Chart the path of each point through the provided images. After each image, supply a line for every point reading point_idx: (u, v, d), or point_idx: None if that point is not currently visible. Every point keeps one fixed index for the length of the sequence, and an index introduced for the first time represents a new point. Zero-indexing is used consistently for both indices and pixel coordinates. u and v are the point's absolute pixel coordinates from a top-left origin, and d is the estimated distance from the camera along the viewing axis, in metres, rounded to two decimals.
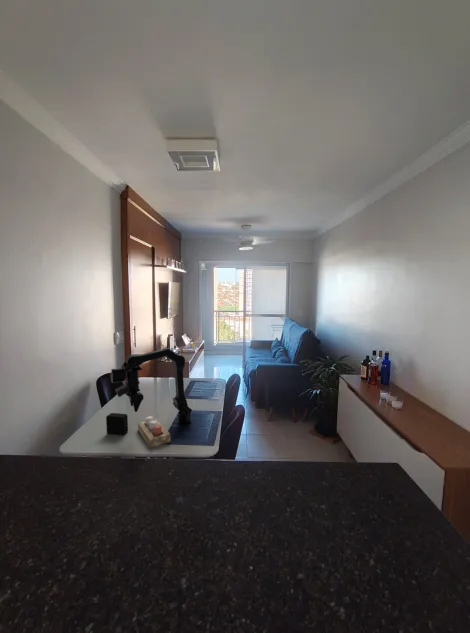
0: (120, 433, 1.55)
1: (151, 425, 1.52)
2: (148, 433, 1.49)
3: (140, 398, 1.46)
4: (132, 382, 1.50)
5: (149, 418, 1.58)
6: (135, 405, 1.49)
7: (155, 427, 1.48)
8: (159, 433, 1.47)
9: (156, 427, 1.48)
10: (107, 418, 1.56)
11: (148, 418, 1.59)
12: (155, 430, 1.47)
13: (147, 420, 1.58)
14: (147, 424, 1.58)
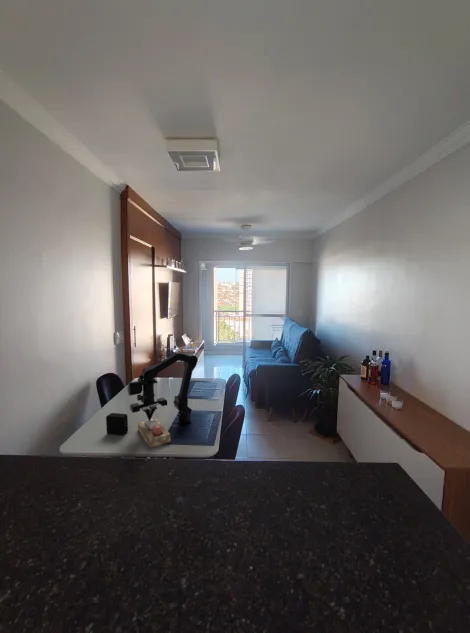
0: (120, 433, 1.55)
1: (151, 425, 1.52)
2: (148, 433, 1.49)
3: (131, 410, 1.52)
4: (143, 394, 1.57)
5: (149, 420, 1.59)
6: (146, 413, 1.59)
7: (155, 427, 1.48)
8: (159, 433, 1.47)
9: (156, 427, 1.48)
10: (107, 418, 1.56)
11: (148, 420, 1.59)
12: (155, 430, 1.47)
13: (147, 422, 1.58)
14: None
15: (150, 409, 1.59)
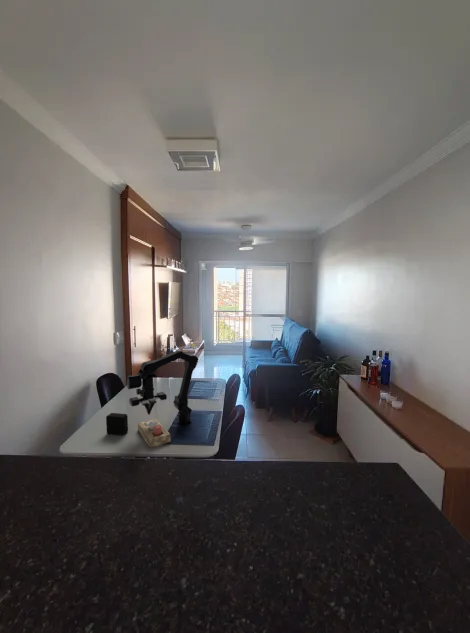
0: (120, 433, 1.55)
1: (151, 425, 1.52)
2: (148, 433, 1.49)
3: (131, 404, 1.52)
4: (142, 388, 1.57)
5: None
6: (145, 407, 1.58)
7: (155, 427, 1.48)
8: (159, 433, 1.47)
9: (156, 427, 1.48)
10: (107, 418, 1.56)
11: (148, 423, 1.59)
12: (155, 430, 1.47)
13: (147, 425, 1.58)
14: None
15: (149, 403, 1.59)
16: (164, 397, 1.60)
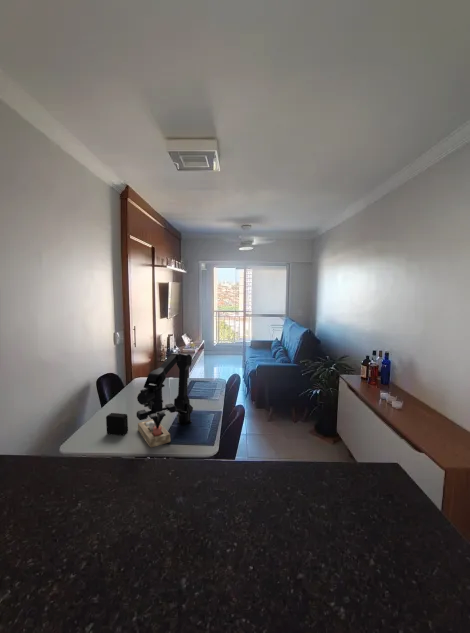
0: (120, 433, 1.55)
1: (151, 425, 1.52)
2: (148, 433, 1.49)
3: (138, 417, 1.42)
4: None
5: None
6: (154, 421, 1.48)
7: (155, 428, 1.48)
8: (159, 434, 1.47)
9: (156, 428, 1.48)
10: (107, 418, 1.56)
11: (148, 423, 1.59)
12: (155, 431, 1.47)
13: (147, 425, 1.58)
14: None
15: (158, 416, 1.48)
16: (174, 409, 1.50)
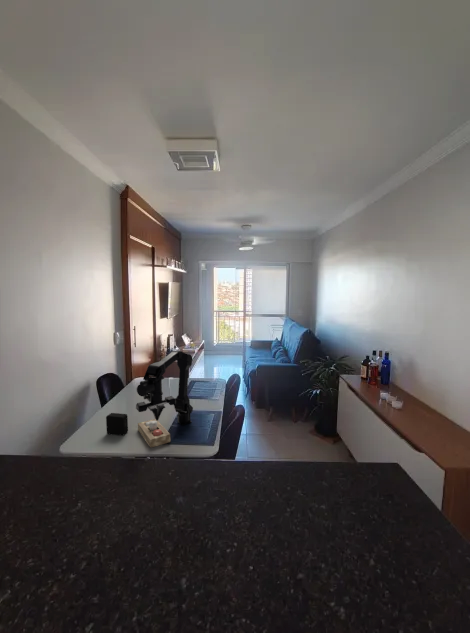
0: (120, 433, 1.55)
1: (151, 425, 1.52)
2: (148, 433, 1.49)
3: (138, 409, 1.41)
4: None
5: None
6: (153, 413, 1.47)
7: (155, 432, 1.48)
8: None
9: (156, 431, 1.48)
10: (107, 418, 1.56)
11: (148, 423, 1.59)
12: (155, 434, 1.47)
13: (147, 425, 1.58)
14: None
15: (158, 408, 1.48)
16: (173, 402, 1.49)
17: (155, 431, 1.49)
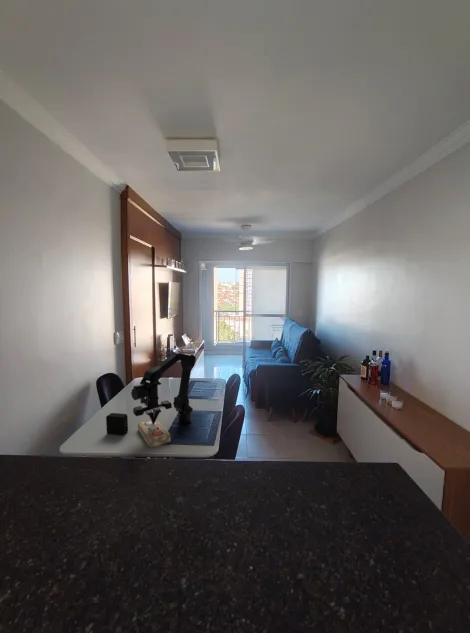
0: (120, 433, 1.55)
1: (151, 426, 1.52)
2: (148, 433, 1.49)
3: (135, 413, 1.47)
4: (146, 397, 1.52)
5: (149, 423, 1.59)
6: (150, 417, 1.53)
7: (155, 432, 1.48)
8: None
9: (156, 431, 1.48)
10: (107, 418, 1.56)
11: (148, 423, 1.59)
12: (155, 434, 1.47)
13: (147, 425, 1.58)
14: None
15: (154, 412, 1.54)
16: (169, 406, 1.55)
17: (155, 431, 1.49)
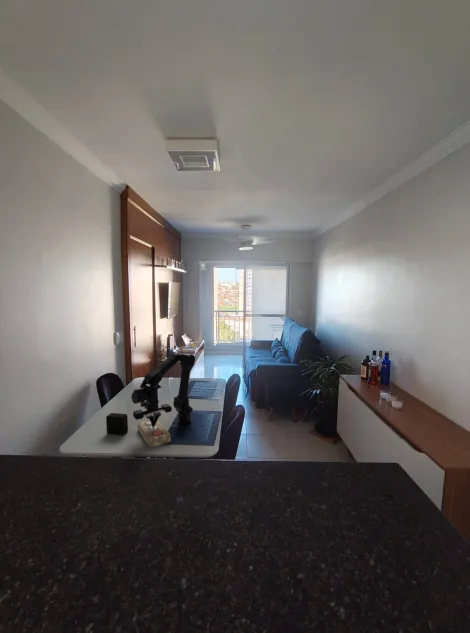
0: (120, 433, 1.55)
1: (151, 430, 1.52)
2: (148, 433, 1.49)
3: (135, 417, 1.47)
4: (146, 400, 1.52)
5: (149, 423, 1.59)
6: (150, 420, 1.53)
7: (155, 432, 1.48)
8: None
9: (156, 431, 1.48)
10: (107, 418, 1.56)
11: (148, 423, 1.59)
12: (155, 434, 1.47)
13: (147, 425, 1.58)
14: None
15: (154, 416, 1.54)
16: (169, 409, 1.55)
17: (155, 431, 1.49)
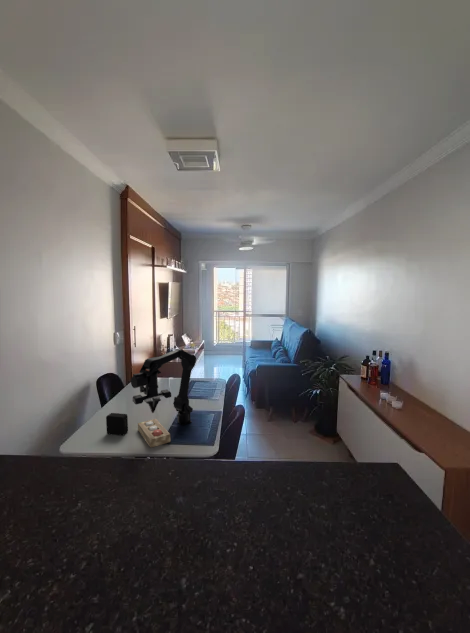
0: (120, 433, 1.55)
1: (151, 430, 1.52)
2: (148, 433, 1.49)
3: (134, 402, 1.46)
4: (146, 385, 1.51)
5: (149, 423, 1.59)
6: (149, 405, 1.53)
7: (155, 432, 1.48)
8: None
9: (156, 431, 1.48)
10: (107, 418, 1.56)
11: (148, 423, 1.59)
12: (155, 434, 1.47)
13: (147, 425, 1.58)
14: None
15: (153, 401, 1.53)
16: (169, 395, 1.55)
17: (155, 431, 1.49)
